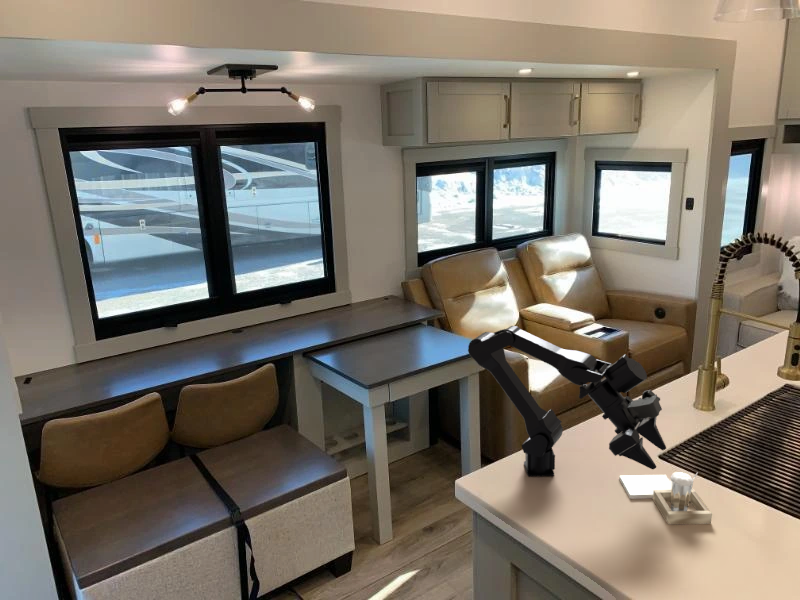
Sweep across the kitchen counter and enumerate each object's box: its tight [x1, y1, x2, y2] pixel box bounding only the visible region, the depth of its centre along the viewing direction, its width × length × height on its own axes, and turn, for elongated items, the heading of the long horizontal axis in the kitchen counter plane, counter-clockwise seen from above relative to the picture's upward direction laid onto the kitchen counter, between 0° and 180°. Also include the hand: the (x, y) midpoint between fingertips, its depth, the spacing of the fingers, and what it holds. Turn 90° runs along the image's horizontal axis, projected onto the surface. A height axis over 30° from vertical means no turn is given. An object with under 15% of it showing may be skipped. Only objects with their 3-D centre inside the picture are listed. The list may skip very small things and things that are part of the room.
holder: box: [652, 488, 713, 525], centre depth 134 cm, size 9×9×2 cm
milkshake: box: [669, 471, 699, 511], centre depth 133 cm, size 4×5×10 cm
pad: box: [618, 474, 671, 500], centre depth 143 cm, size 11×8×1 cm
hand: (659, 458), depth 134 cm, fingers open, 9 cm apart
